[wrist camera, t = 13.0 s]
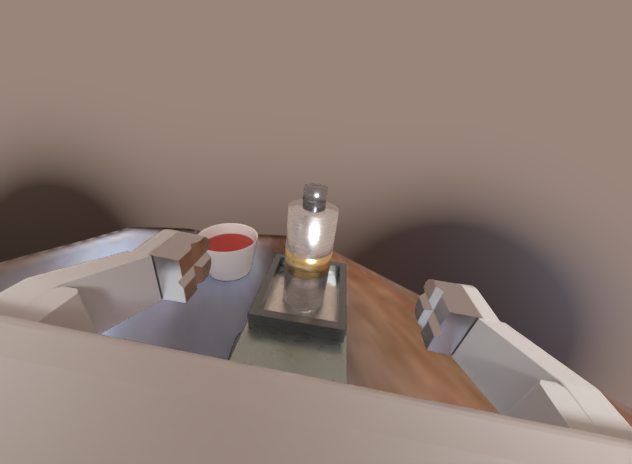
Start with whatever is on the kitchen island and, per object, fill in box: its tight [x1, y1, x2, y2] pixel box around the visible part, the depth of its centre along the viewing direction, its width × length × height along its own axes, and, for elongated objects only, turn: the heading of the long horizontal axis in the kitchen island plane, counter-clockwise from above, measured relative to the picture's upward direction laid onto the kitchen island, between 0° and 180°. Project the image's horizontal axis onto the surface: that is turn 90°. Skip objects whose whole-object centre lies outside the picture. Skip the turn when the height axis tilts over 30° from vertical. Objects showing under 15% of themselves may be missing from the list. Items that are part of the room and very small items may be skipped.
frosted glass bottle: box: [283, 184, 339, 311], centre depth 25 cm, size 5×5×13 cm
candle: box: [198, 223, 258, 281], centre depth 39 cm, size 9×9×6 cm
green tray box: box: [228, 253, 347, 384], centre depth 27 cm, size 11×18×8 cm, turn 174°
